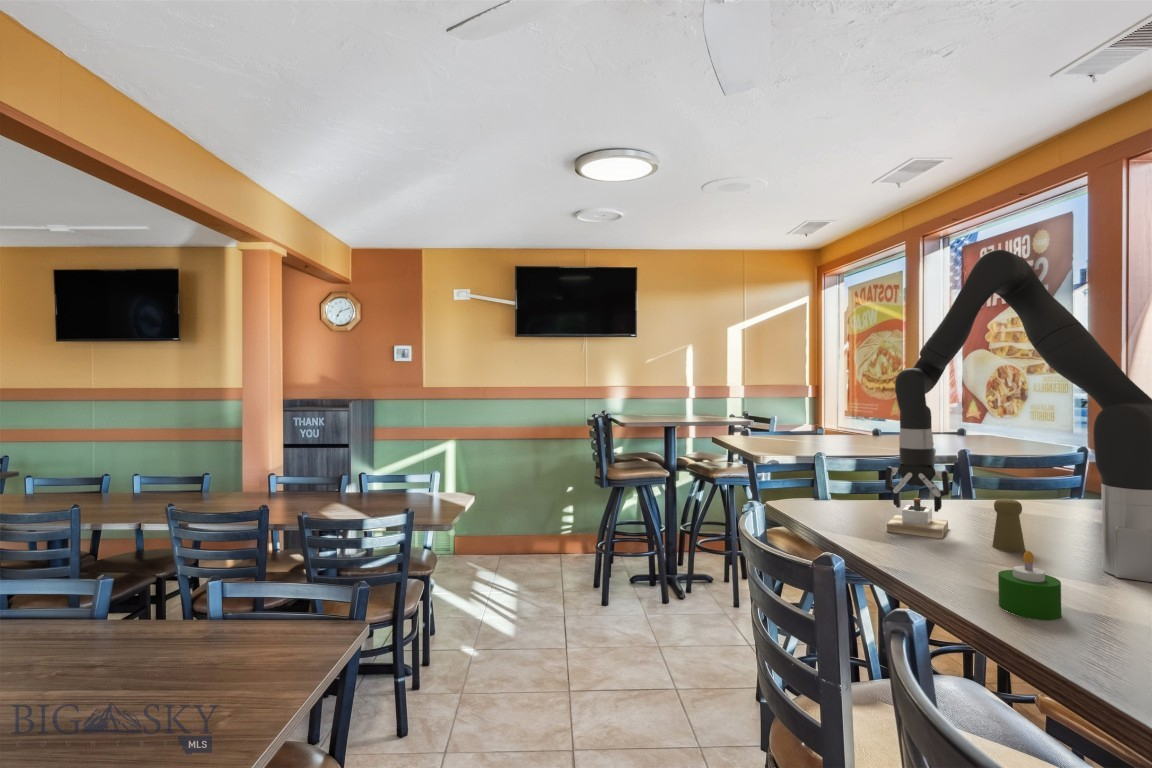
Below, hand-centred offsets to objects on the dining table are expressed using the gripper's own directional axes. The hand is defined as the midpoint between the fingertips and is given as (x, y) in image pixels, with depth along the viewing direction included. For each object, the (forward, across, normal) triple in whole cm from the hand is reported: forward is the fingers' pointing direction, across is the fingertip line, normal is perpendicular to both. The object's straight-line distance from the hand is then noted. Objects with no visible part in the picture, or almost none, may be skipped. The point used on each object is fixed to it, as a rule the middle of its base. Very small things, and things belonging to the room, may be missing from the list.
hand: (917, 509), depth 151 cm
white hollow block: (+3, 0, 0) cm, 3 cm away
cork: (+6, +19, -7) cm, 21 cm away
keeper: (+5, 0, 0) cm, 5 cm away
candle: (+6, +23, -49) cm, 54 cm away
